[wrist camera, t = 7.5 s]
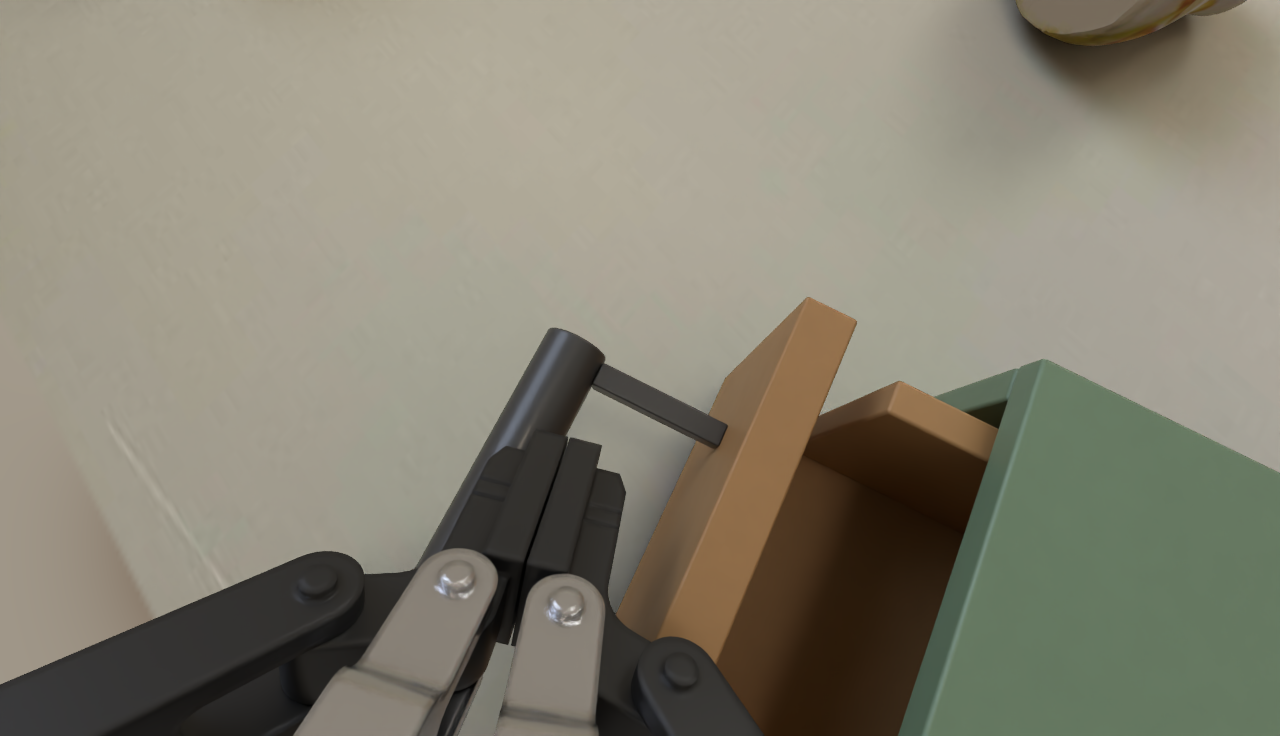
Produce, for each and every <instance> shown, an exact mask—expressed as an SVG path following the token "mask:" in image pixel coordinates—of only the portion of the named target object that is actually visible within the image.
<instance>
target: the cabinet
mask: <svg viewBox="0 0 1280 736" xmlns="http://www.w3.org/2000/svg"><path fill="white" fill-rule="evenodd" d="M934 398H936V399H938V400H940V401H942V402H944V403H947V404H949V405H951V406H953V407H955V408H957V409H959V410H961V411H963V412H965V413H967V414H969V415H971V416H973V417H975V418H977V419H979V420H981V421H983V422H985V423H987V424H989V425H991V426H993V427H995V428H997V429H999V430H998V433H997V436H996V439H995V442H994V445H993V448H992V451H991V454H990V457H989V460H988V463H987V466H986V469H985V472H984V475H983V478H982V481H981V484H980V487H979V490H978V493H977V497H976V500H975V503H974V506H973V509H972V512H971V515H970V518H969V521H968V524H967V527H966V530H965V533H964V536H963V539H962V542H961V545H960V548H959V551H958V554H957V557H956V560H955V563H954V566H953V569H952V573H951V576H950V579H949V582H948V585H947V588H946V591H945V594H944V597H943V600H942V603H941V606H940V609H939V612H938V615H937V618H936V621H935V624H934V627H933V630H932V633H931V636H930V639H929V642H928V646H927V649H926V652H925V655H924V658H923V661H922V664H921V667H920V670H919V673H918V676H917V679H916V682H915V685H914V688H913V691H912V694H911V697H910V700H909V703H908V706H907V709H906V712H905V715H904V719H903V722H902V725H901V728H900V731H899V734H898V736H1280V473H1279V472H1277V471H1275V470H1272V469H1270V468H1268V467H1266V466H1264V465H1262V464H1260V463H1258V462H1256V461H1254V460H1252V459H1250V458H1248V457H1246V456H1244V455H1242V454H1240V453H1238V452H1236V451H1233V450H1231V449H1229V448H1227V447H1225V446H1223V445H1221V444H1219V443H1217V442H1215V441H1213V440H1211V439H1209V438H1207V437H1205V436H1203V435H1201V434H1199V433H1196V432H1194V431H1192V430H1190V429H1188V428H1186V427H1184V426H1182V425H1180V424H1178V423H1176V422H1174V421H1172V420H1170V419H1168V418H1166V417H1164V416H1162V415H1160V414H1157V413H1155V412H1153V411H1151V410H1149V409H1147V408H1145V407H1143V406H1141V405H1139V404H1137V403H1135V402H1133V401H1131V400H1129V399H1127V398H1125V397H1123V396H1121V395H1118V394H1116V393H1114V392H1112V391H1110V390H1108V389H1106V388H1104V387H1102V386H1100V385H1098V384H1096V383H1094V382H1092V381H1090V380H1088V379H1086V378H1084V377H1082V376H1079V375H1077V374H1075V373H1073V372H1071V371H1069V370H1067V369H1065V368H1063V367H1061V366H1059V365H1057V364H1055V363H1053V362H1051V361H1049V360H1045V359H1041V360H1039V361H1036V362H1033V363H1030V364H1027V365H1024V366H1021V367H1020V368H1019V369H1013V370H1010V371H1007V372H1004V373H1001V374H998V375H995V376H993V377H990V378H987V379H984V380H981V381H978V382H975V383H972V384H970V385H967V386H964V387H961V388H958V389H955V390H952V391H950V392H947V393H944V394H941V395H938V396H935V397H934Z"/></svg>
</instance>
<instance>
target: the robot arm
mask: <svg viewBox="0 0 1280 736" xmlns="http://www.w3.org/2000/svg"><path fill="white" fill-rule="evenodd" d="M567 442H568V437H567V436H563V435H559V434H555V433H551V432H547V431H543V430H539V429H536V430H535V431H534V433H533V435H532V438H531V440H530V442H529V445H528V447H527V449H526V451H525V450H521V449H517V448H513V447H509V446H505V447H503V448H502V449H501V450H499V451H498V452H497V453H495V454H494V455H493V456H491V457H490V458H489V459H488V461H487V463H486V465H485V467H484V469H483V471H482V473H481V475H480V477H479V479H478V480H477V482H476V484H475V486H474V488H473V491H472V494H470V496H469V498H468V500H467V502H466V504H465V506H464V508H463V510H462V512H461V514H460V516H459V518H458V520H457V522H456V524H455V526H454V528H453V530H452V532H451V534H450V536H449V538H448V539H447V541H446V543H445V545H444V547H443V549H442V550H441V551H440V552H438V553H436V554H434V555H432V556H431V557H429V558H428V559H427V560H426V561H425V562H423V564H422V565H421V566H420V567H419V568H416V569H413V570H410V571H406V572H400V573H385V574H364V572H363V569H362V567H361V566H360V564H359V563H358V562H357V561H356V560H355V559H353V558H352V557H350V556H348V555H346V554H343V553H339V552H332V551H322V552H315V553H310V554H307V555H304V556H301V557H299V558H296V559H294V560H292V561H289V562H287V563H285V564H282V565H280V566H278V567H275V568H273V569H271V570H268V571H266V572H263V573H261V574H259V575H256V576H254V577H252V578H249V579H247V580H245V581H242V582H240V583H238V584H235V585H233V586H231V587H228V588H226V589H224V590H221V591H219V592H217V593H214V594H212V595H210V596H207V597H205V598H202V599H200V600H198V601H195V602H193V603H191V604H188V605H186V606H184V607H181V608H179V609H177V610H174V611H172V612H170V613H167V614H165V615H163V616H160V617H158V618H156V619H153V620H151V621H148V622H146V623H144V624H141V625H139V626H137V627H135V628H132V629H130V630H127V631H125V632H123V633H120V634H118V635H116V636H113V637H111V638H109V639H106V640H104V641H102V642H99V643H97V644H95V645H92V646H90V647H88V648H85V649H83V650H81V651H78V652H76V653H74V654H71V655H69V656H66V657H64V658H62V659H59V660H57V661H55V662H52V663H50V664H48V665H45V666H43V667H41V668H38V669H36V670H33V671H31V672H29V673H27V674H24V675H22V676H20V677H17V678H15V679H12V680H10V681H8V682H5V683H3V684H1V685H0V736H458V734H459V732H460V730H461V727H462V725H463V723H464V721H465V718H466V716H467V714H468V711H469V709H470V707H471V705H472V702H473V700H474V698H475V695H476V693H477V691H478V689H479V686H480V684H481V681H482V678H483V673H484V672H485V670H486V668H487V666H488V663H489V660H490V657H491V654H492V652H493V649H494V646H495V643H496V642H498V643H502V644H506V645H508V643H509V640H510V637H511V634H512V631H513V628H514V625H515V628H514V633H513V639H512V644H511V645H512V646H516V647H515V652H514V656H513V660H512V665H511V669H510V674H509V678H508V682H507V687H506V691H505V695H504V700H503V704H502V708H501V710H500V714H499V718H498V723H497V727H496V731H495V735H494V736H765V735H764V734H763V732H762V731H761V730H760V728H759V727H758V725H757V724H756V722H755V721H754V719H753V718H752V717H751V715H750V714H749V712H748V711H747V709H746V708H745V706H744V705H743V703H742V702H741V701H740V699H739V698H738V696H737V695H736V693H735V692H734V690H733V689H732V687H731V686H730V685H729V683H728V682H727V680H726V679H725V677H724V676H723V674H722V673H721V672H720V670H719V669H718V667H717V666H716V664H715V663H714V661H713V660H712V659H711V657H710V656H709V655H708V653H707V652H706V651H704V650H703V649H702V648H701V647H700V646H698V645H697V644H695V643H694V642H692V641H690V640H687V639H684V638H680V637H672V636H668V637H662V638H659V639H656V640H655V641H653V642H650V641H649V640H647V639H645V638H644V637H642V636H640V635H639V634H637V633H635V632H634V631H632V630H631V629H629V628H628V627H626V626H625V625H624V624H623V623H622V622H621V621H620V620H619V619H618V617H617V616H616V615H615V613H614V611H613V610H612V607H611V605H610V602H609V598H608V585H609V579H610V574H611V569H612V564H613V558H614V553H615V548H616V543H617V537H618V532H619V527H620V521H621V516H622V511H623V506H624V500H625V495H626V491H625V488H624V485H623V482H622V479H621V476H620V474H618V473H614V472H610V471H606V470H602V469H598V468H597V464H598V460H599V456H600V452H601V448H602V445H599V444H595V443H591V442H587V441H583V440H579V439H575V438H571V437H570V439H569V442H568V445H567ZM566 447H567V448H566ZM515 622H516V623H515Z"/></svg>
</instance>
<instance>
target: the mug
mask: <svg viewBox="0 0 1280 736" xmlns="http://www.w3.org/2000/svg"><path fill="white" fill-rule="evenodd" d="M1245 1H1247V0H1016V5H1017V7H1018V9H1019V11H1020V13H1021V15H1022V16H1023V17H1024V18H1026V19H1027V20H1028V21H1029V22H1030V23H1031V24H1032V25H1033V26H1034V27H1036V28H1038V29H1039V30H1041V31H1042V32H1043V33H1045V34H1047V35H1049V36H1051V37H1053V38H1056V39H1058V40H1060V41H1063V42H1066V43H1070V44H1076V45H1085V46H1100V45H1109V44H1115V43H1120V42H1124V41H1128V40H1132V39H1136V38H1139V37H1142V36H1144V35H1147V34H1150V33H1152V32H1155V31H1157V30H1159V29H1161V28H1163V27H1165V26H1167V25H1169V24H1171V23H1172V22H1174V21H1176V20H1178V19H1180V18H1181V17H1183V16H1184V15H1186V14H1189V15H1198V16H1207V15H1213V14H1219V13H1222V12H1225V11H1228V10H1230V9H1232V8H1234V7H1236V6H1238V5H1240V4H1242V3H1244V2H1245Z"/></svg>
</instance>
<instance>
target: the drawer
mask: <svg viewBox="0 0 1280 736" xmlns="http://www.w3.org/2000/svg"><path fill="white" fill-rule="evenodd" d="M856 324H857V321H856V320H855V319H853V318H851V317H849V316H847V315H845V314H843V313H841V312H839V311H837V310H835V309H833V308H830V307H828V306H826V305H824V304H822V303H820V302H818V301H816V300H814V299H812V298H810V297H807V298H806V299H805V300H804V301H803V302H802V303H801V304H800V305H799V306H798V307H797V308H796V309H795V310H794V311H793V312H792V313H791V314H790V315H789V316H788V317H787V318H786V319H785V320H784V321H783V322H782V323H781V324H780V325H779V326H778V327H777V328H776V329H775V330H774V331H773V332H772V333H770V334H769V335H768V336H767V337H766V338H765V339H764V340H763V341H762V342H761V343H760V344H759V345H758V346H757V347H756V348H755V349H754V350H753V351H752V352H751V353H750V354H749V355H748V356H747V357H746V358H745V359H744V360H743V361H742V362H741V363H740V364H739V365H738V366H737V367H736V368H735V369H734V370H733V371H732V372H731V373H730V374H729V375H728V376H727V377H726V378H725V380H724V382H723V384H722V387H721V389H720V391H719V393H718V395H717V397H716V400H715V402H714V404H713V406H712V408H711V410H710V412H709V415H707V414H705V413H703V412H701V411H699V410H697V409H695V408H693V407H691V406H689V405H687V404H685V403H683V402H681V401H679V400H677V399H675V398H673V397H671V396H669V395H667V394H665V393H663V392H661V391H659V390H657V389H655V388H653V387H651V386H649V385H647V384H645V383H643V382H641V381H639V380H637V379H635V378H633V377H631V376H629V375H627V374H625V373H623V372H621V371H619V370H617V369H615V368H613V367H611V366H609V365H607V364H604V362H605V356H604V354H603V353H602V352H601V351H600V350H599V349H598V348H597V347H595V346H594V345H593V344H591V343H590V342H588V341H587V340H585V339H583V338H581V337H580V336H578V335H576V334H573V333H571V332H569V331H566V330H563V329H559V328H550V329H549V330H548V331H547V333H546V335H545V336H544V338H543V340H542V342H541V344H540V345H539V347H538V349H537V351H536V353H535V354H534V356H533V358H532V360H531V361H530V363H529V365H528V367H527V369H526V370H525V372H524V374H523V376H522V378H521V379H520V381H519V383H518V385H517V387H516V388H515V390H514V392H513V394H512V396H511V397H510V399H509V401H508V403H507V404H506V406H505V408H504V410H503V412H502V413H501V415H500V417H499V419H498V421H497V422H496V424H495V426H494V428H493V430H492V431H491V433H490V435H489V437H488V439H487V440H486V442H485V444H484V446H483V448H482V449H481V451H480V453H479V455H478V456H477V458H476V460H475V462H474V464H473V465H472V467H471V469H470V471H469V473H468V474H467V476H466V478H465V480H464V482H463V483H462V485H461V487H460V489H459V491H458V492H457V494H456V496H455V498H454V499H453V501H452V503H451V505H450V507H449V508H448V510H447V512H446V514H445V516H444V517H443V519H442V521H441V523H440V525H439V526H438V528H437V530H436V532H435V534H434V535H433V537H432V539H431V541H430V543H429V544H428V546H427V548H426V550H425V551H424V553H423V555H422V557H421V559H420V560H419V562H418V564H417V566H416V568H419V567H420V566H421V565H422V564H423V562H425V561H426V560H427V559H428V558H429V557H431V556H432V555H434V554H436V553H438V552H440V551H441V550H442V549H443V547H444V545H445V543H446V541H447V539H448V538H449V536H450V534H451V532H452V530H453V528H454V526H455V524H456V522H457V520H458V518H459V516H460V514H461V512H462V510H463V508H464V506H465V504H466V502H467V500H468V498H469V496H470V494H472V491H473V488H474V486H475V484H476V482H477V480H478V479H479V477H480V475H481V473H482V471H483V469H484V467H485V465H486V463H487V461H488V459H489V458H490V457H491V456H493V455H494V454H495V453H497V452H498V451H499V450H501V449H502V448H503V447H505V446H509V447H513V448H517V449H521V450H525V451H526V449H527V447H528V445H529V442H530V440H531V438H532V435H533V433H534V431H535V430H536V429H539V430H543V431H547V432H551V433H555V434H559V435H563V436H566V434H567V433H568V431H569V429H570V427H571V425H572V423H573V421H574V419H575V417H576V415H577V413H578V412H579V410H580V408H581V406H582V404H583V402H584V400H585V398H586V396H587V394H588V392H589V391H590V389H591V387H592V388H593V389H594V390H596V391H598V392H600V393H602V394H604V395H606V396H608V397H610V398H612V399H614V400H616V401H618V402H620V403H622V404H624V405H626V406H628V407H630V408H632V409H634V410H636V411H638V412H640V413H642V414H644V415H646V416H648V417H650V418H652V419H654V420H656V421H658V422H660V423H662V424H664V425H666V426H668V427H670V428H672V429H674V430H676V431H678V432H680V433H682V434H684V435H686V436H688V437H690V438H692V439H694V440H696V443H695V445H694V447H693V449H692V451H691V453H690V456H689V458H688V460H687V462H686V464H685V466H684V469H683V471H682V473H681V475H680V477H679V479H678V482H677V484H676V486H675V488H674V490H673V492H672V494H671V497H670V499H669V501H668V503H667V505H666V507H665V510H664V512H663V514H662V516H661V518H660V520H659V523H658V525H657V527H656V529H655V531H654V533H653V536H652V538H651V540H650V542H649V544H648V546H647V548H646V551H645V553H644V555H643V557H642V559H641V561H640V564H639V566H638V568H637V570H636V572H635V574H634V577H633V579H632V581H631V583H630V585H629V587H628V589H627V592H626V594H625V596H624V598H623V600H622V602H621V605H620V607H619V609H618V611H617V613H616V616H617V617H618V619H619V620H620V621H621V622H622V623H623V624H624V625H625V626H626V627H628V628H629V629H631V630H632V631H634V632H635V633H637V634H639V635H640V636H642V637H644V638H645V639H647V640H649V641H650V642H653V641H655V640H656V639H659V638H662V637H668V636H672V637H680V638H684V639H687V640H690V641H692V642H694V643H695V644H697V645H698V646H700V647H701V648H702V649H703V650H704V651H706V652H707V653H708V655H709V656H710V657H711V659H712V660H713V661H714V663H715V664H716V666H717V667H718V669H719V670H720V672H721V673H722V674H723V676H724V677H725V679H726V680H727V682H728V683H729V685H730V686H731V687H732V689H733V690H734V692H735V693H736V695H737V696H738V698H739V699H740V701H741V702H742V703H743V705H744V706H745V708H746V709H747V711H748V712H749V714H750V715H751V717H752V718H753V719H754V721H755V722H756V724H757V725H758V727H759V728H760V730H761V731H762V732H763V734H764V735H765V736H898V734H899V731H900V728H901V725H902V722H903V719H904V715H905V712H906V709H907V706H908V703H909V700H910V697H911V694H912V691H913V688H914V685H915V682H916V679H917V676H918V673H919V670H920V667H921V664H922V661H923V658H924V655H925V652H926V649H927V646H928V642H929V639H930V636H931V633H932V630H933V627H934V624H935V621H936V618H937V615H938V612H939V609H940V606H941V603H942V600H943V597H944V594H945V591H946V588H947V585H948V582H949V579H950V576H951V573H952V569H953V566H954V563H955V560H956V557H957V554H958V551H959V548H960V545H961V542H962V539H963V536H964V533H965V530H966V527H967V524H968V521H969V518H970V515H971V512H972V509H973V506H974V503H975V500H976V497H977V493H978V490H979V487H980V484H981V481H982V478H983V475H984V472H985V469H986V466H987V463H988V460H989V457H990V454H991V451H992V448H993V445H994V442H995V439H996V436H997V433H998V430H999V429H997V428H995V427H993V426H991V425H989V424H987V423H985V422H983V421H981V420H979V419H977V418H975V417H973V416H971V415H969V414H967V413H965V412H963V411H961V410H959V409H957V408H955V407H953V406H951V405H949V404H947V403H944V402H942V401H940V400H938V399H936V398H934V397H932V396H930V395H928V394H926V393H924V392H922V391H920V390H918V389H916V388H914V387H912V386H910V385H908V384H906V383H904V382H902V381H897V382H895V383H893V384H890V385H888V386H886V387H884V388H881V389H879V390H877V391H874V392H872V393H870V394H868V395H865V396H863V397H861V398H859V399H856V400H854V401H852V402H849V403H847V404H845V405H843V406H840V407H838V408H836V409H834V410H831V411H829V412H827V413H824V414H822V415H820V416H819V414H820V411H821V409H822V407H823V404H824V402H825V399H826V397H827V395H828V392H829V390H830V387H831V385H832V382H833V380H834V378H835V375H836V373H837V370H838V368H839V365H840V363H841V361H842V358H843V356H844V353H845V351H846V348H847V346H848V344H849V341H850V339H851V336H852V334H853V332H854V329H855V327H856ZM592 385H593V386H592ZM416 568H415V569H416Z"/></svg>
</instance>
